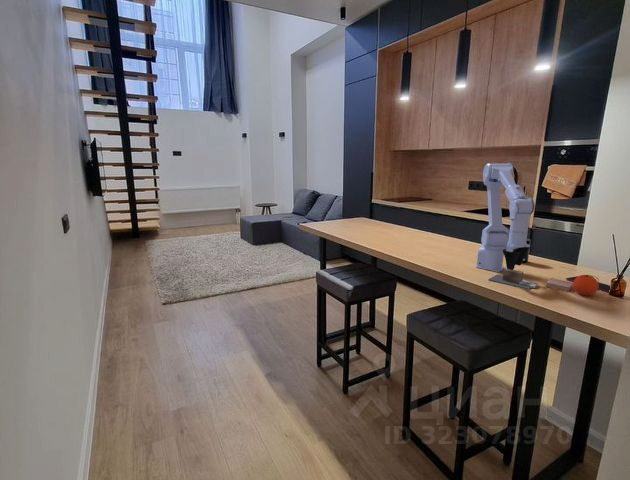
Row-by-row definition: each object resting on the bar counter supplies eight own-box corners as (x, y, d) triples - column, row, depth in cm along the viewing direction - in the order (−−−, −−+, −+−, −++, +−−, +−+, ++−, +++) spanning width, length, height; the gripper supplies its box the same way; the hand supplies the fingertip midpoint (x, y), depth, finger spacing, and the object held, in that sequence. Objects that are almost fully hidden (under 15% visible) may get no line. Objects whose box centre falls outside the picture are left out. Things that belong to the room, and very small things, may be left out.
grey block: (501, 280, 133) (502, 270, 132) (506, 277, 136) (507, 267, 135) (534, 287, 125) (535, 277, 124) (538, 284, 128) (539, 274, 127)
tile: (546, 282, 128) (569, 287, 123) (551, 278, 132) (573, 282, 127) (545, 287, 128) (568, 292, 123) (550, 283, 133) (572, 287, 128)
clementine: (588, 290, 124) (592, 271, 122) (605, 298, 117) (609, 277, 115) (566, 291, 123) (569, 271, 122) (581, 298, 117) (585, 278, 115)
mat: (488, 280, 135) (488, 279, 135) (497, 275, 141) (497, 274, 141) (528, 289, 125) (529, 288, 125) (536, 283, 131) (537, 282, 130)
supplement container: (524, 259, 163) (527, 237, 160) (530, 263, 156) (533, 241, 154) (508, 259, 164) (511, 237, 161) (514, 263, 157) (517, 240, 155)
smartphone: (608, 291, 122) (564, 278, 135) (607, 294, 122) (564, 280, 135) (621, 288, 124) (577, 275, 138) (621, 291, 124) (577, 278, 138)
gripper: (523, 236, 121) (518, 273, 124) (537, 230, 130) (532, 265, 133) (502, 233, 126) (497, 269, 129) (516, 227, 135) (512, 261, 138)
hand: (513, 266), depth 131 cm, fingers open, 7 cm apart
